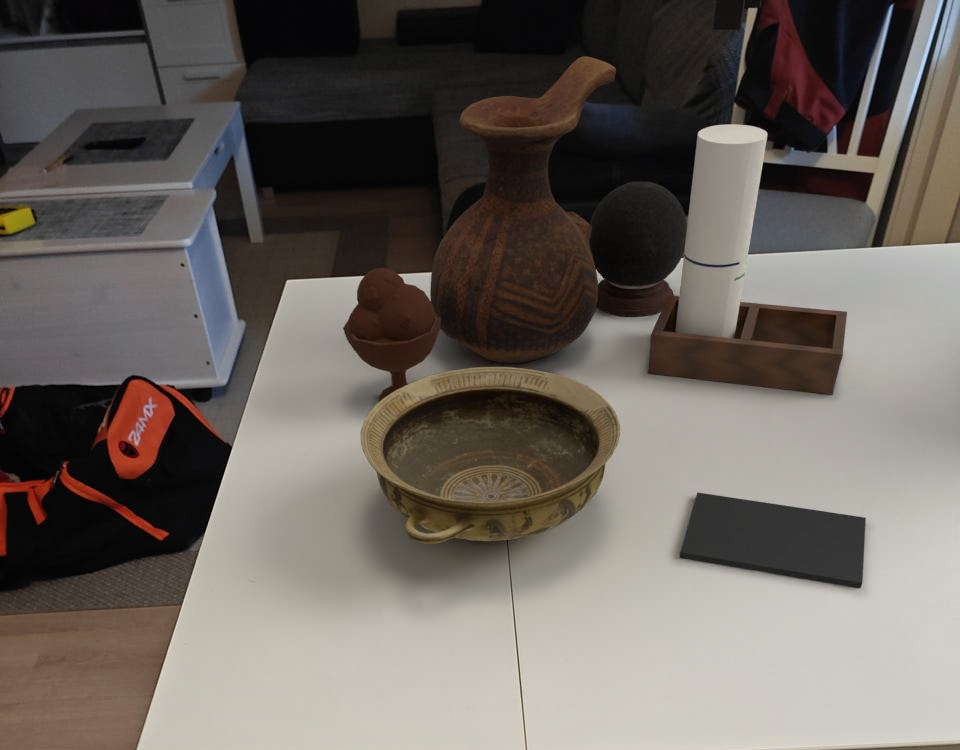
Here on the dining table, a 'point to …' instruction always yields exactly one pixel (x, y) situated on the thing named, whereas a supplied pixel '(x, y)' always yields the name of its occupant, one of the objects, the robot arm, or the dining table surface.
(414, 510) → the ceramic bowl
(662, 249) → the black ball on stand
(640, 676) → the dining table surface
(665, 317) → the wooden compartment box
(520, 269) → the jug
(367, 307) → the ice cream bowl
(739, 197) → the cylindrical container
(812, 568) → the mat
